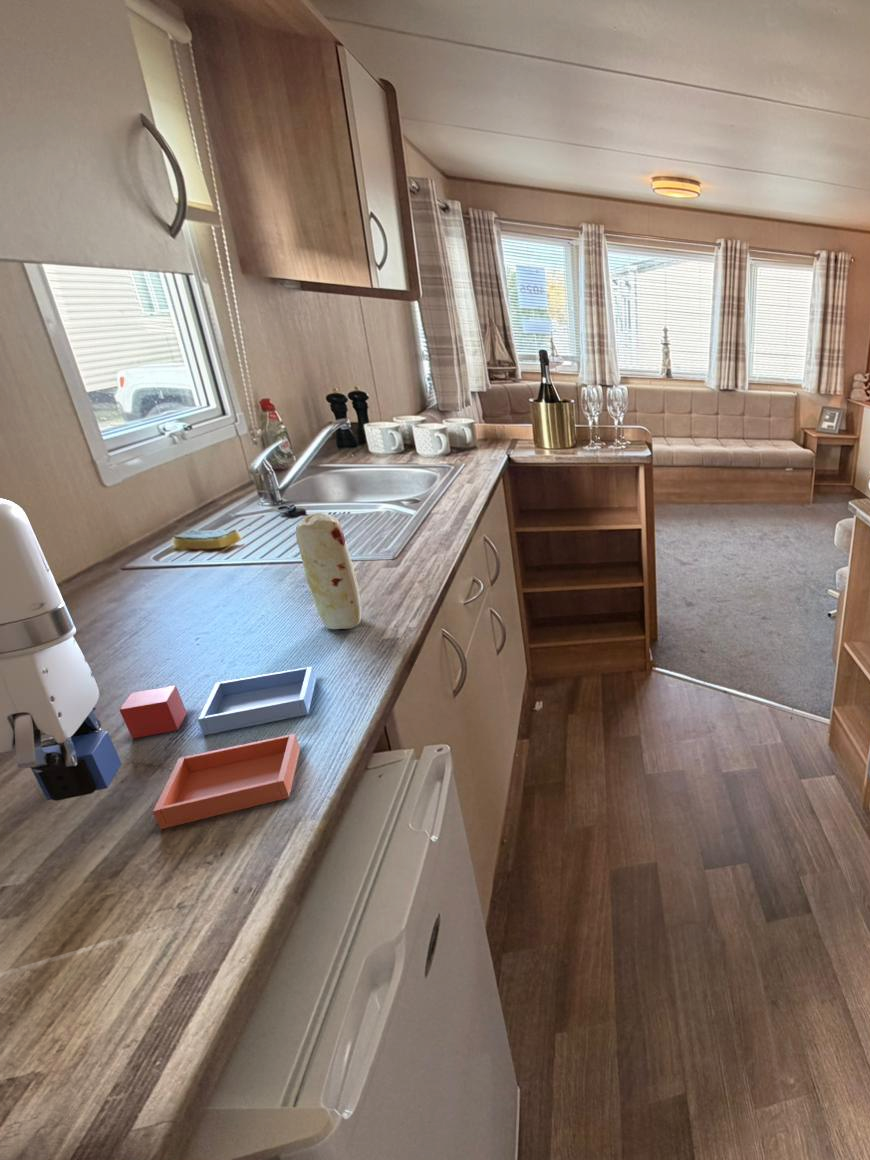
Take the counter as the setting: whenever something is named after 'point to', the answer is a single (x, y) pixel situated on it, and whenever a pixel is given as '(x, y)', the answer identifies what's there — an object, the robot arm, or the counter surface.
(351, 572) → the food model
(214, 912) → the counter surface
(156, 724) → the red block
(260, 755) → the red tray
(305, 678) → the blue tray
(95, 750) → the blue block
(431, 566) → the counter surface
